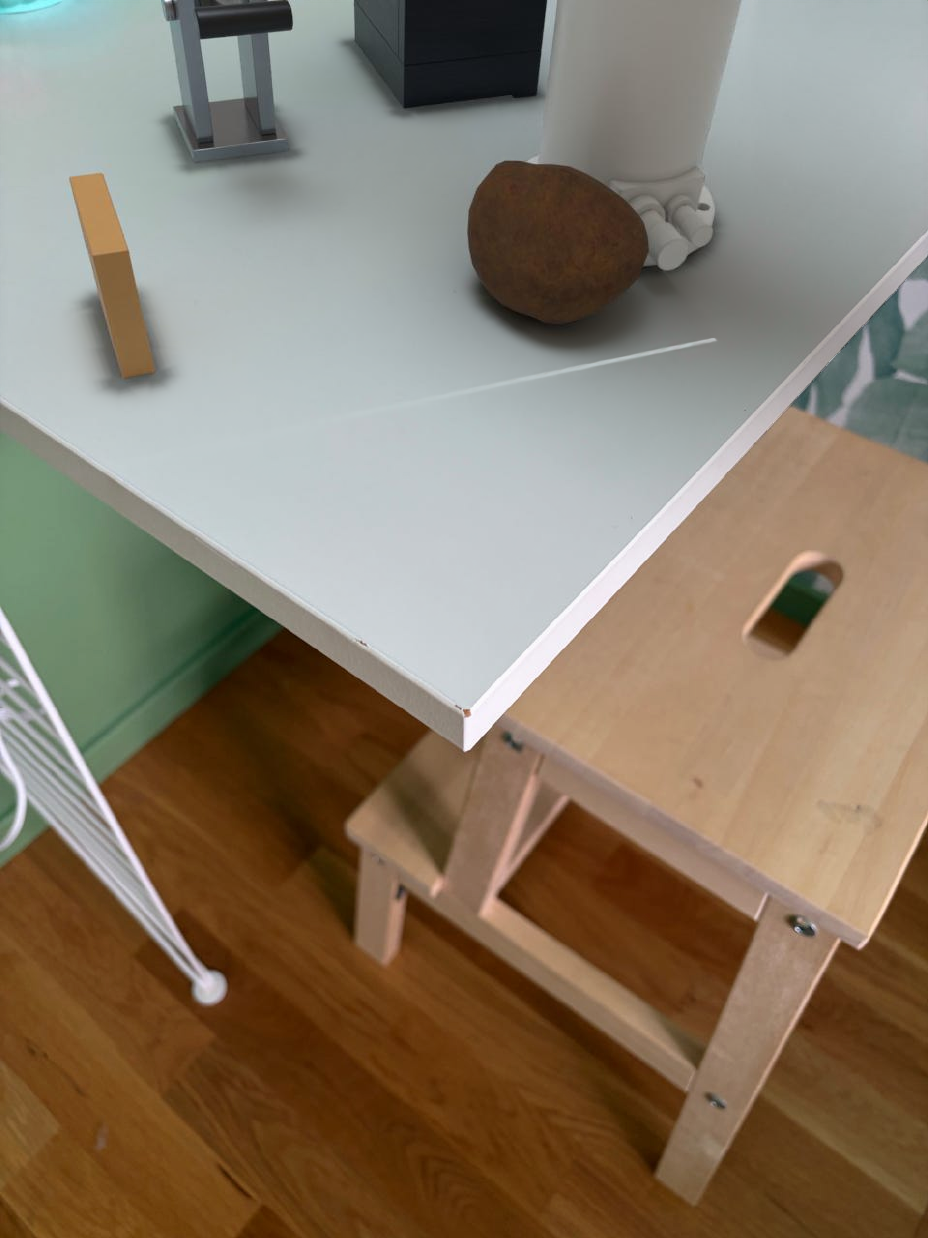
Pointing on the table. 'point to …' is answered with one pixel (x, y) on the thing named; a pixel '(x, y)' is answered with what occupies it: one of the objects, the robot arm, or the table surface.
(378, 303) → the table surface
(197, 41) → the lever bracket
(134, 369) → the toast
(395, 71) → the toaster
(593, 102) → the robot arm
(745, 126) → the table surface
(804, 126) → the table surface
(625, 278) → the potato
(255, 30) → the lever
